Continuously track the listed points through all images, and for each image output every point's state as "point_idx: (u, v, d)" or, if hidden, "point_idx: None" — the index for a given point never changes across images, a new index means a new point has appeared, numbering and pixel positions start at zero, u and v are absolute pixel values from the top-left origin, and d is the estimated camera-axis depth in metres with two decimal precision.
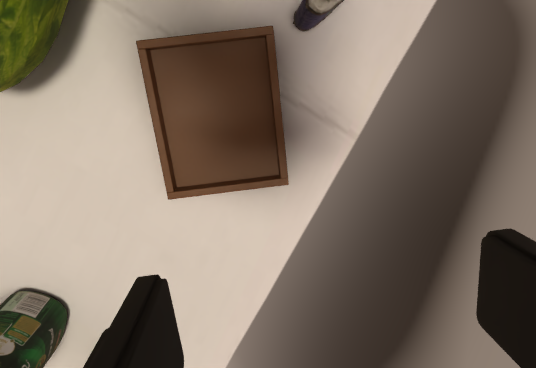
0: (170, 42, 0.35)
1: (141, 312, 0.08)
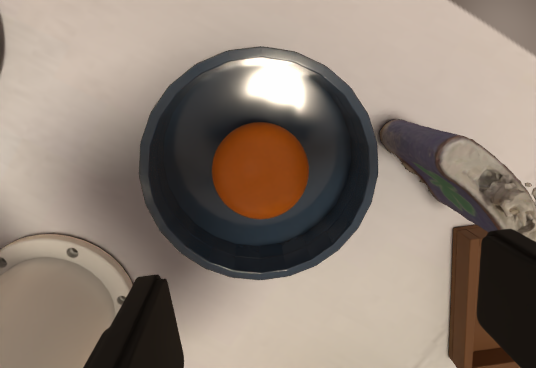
0: (470, 345, 0.30)
1: (141, 312, 0.08)
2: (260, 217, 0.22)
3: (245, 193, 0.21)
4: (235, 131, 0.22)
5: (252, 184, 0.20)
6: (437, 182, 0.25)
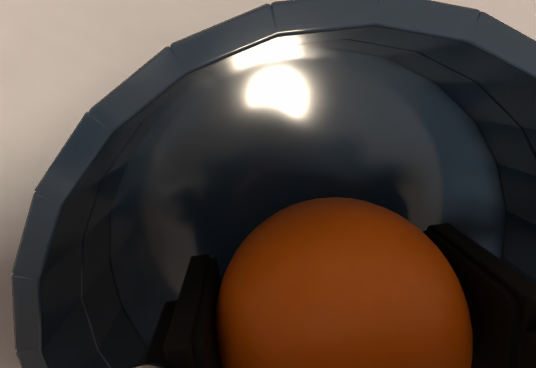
0: None
1: (203, 284, 0.09)
2: None
3: None
4: (281, 233, 0.08)
5: None
6: None
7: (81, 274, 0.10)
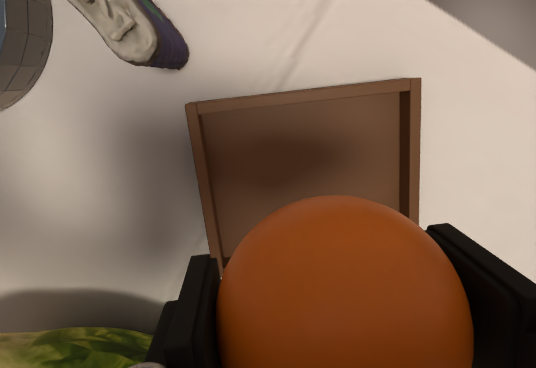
0: (214, 239, 0.27)
1: (203, 284, 0.09)
2: None
3: None
4: (281, 230, 0.08)
5: None
6: None
7: None
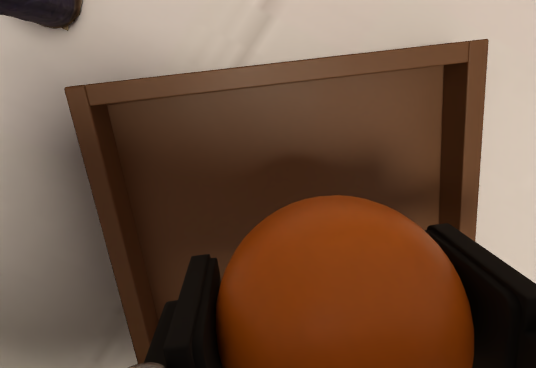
0: (136, 314, 0.16)
1: (203, 284, 0.09)
2: None
3: None
4: (281, 231, 0.08)
5: None
6: None
7: None
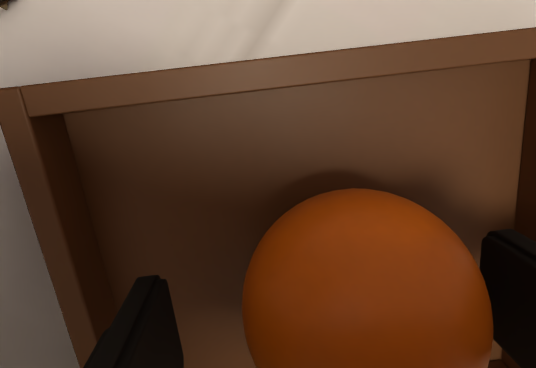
0: None
1: (141, 312, 0.08)
2: None
3: None
4: (314, 223, 0.08)
5: None
6: None
7: None
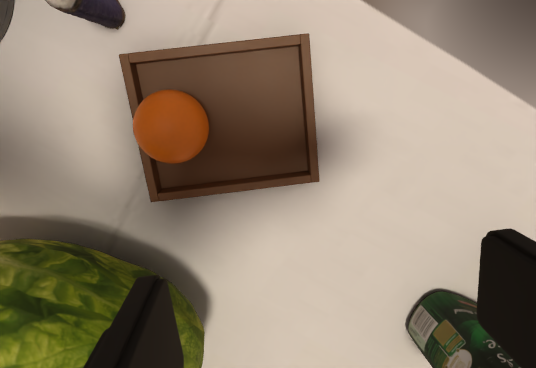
0: (148, 168, 0.33)
1: (141, 312, 0.08)
2: None
3: None
4: None
5: None
6: None
7: None
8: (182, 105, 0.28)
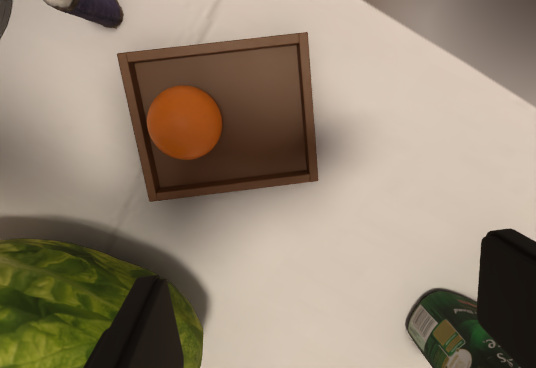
0: (147, 167, 0.33)
1: (141, 312, 0.08)
2: (167, 154, 0.30)
3: None
4: None
5: (147, 125, 0.29)
6: None
7: None
8: (206, 98, 0.29)
